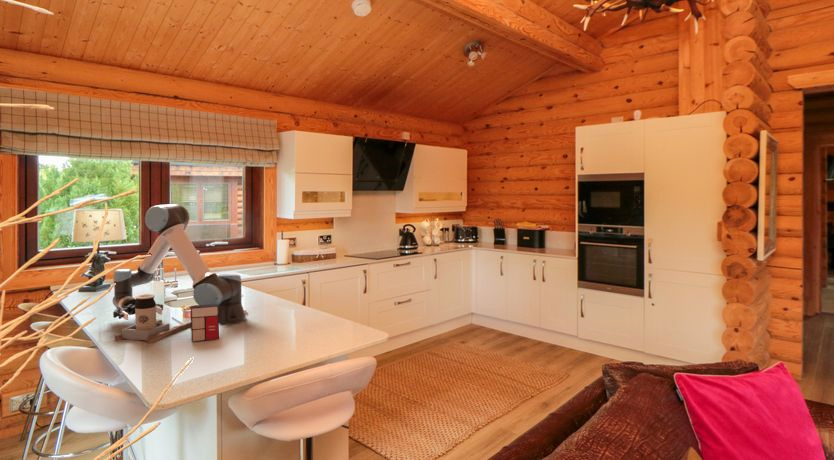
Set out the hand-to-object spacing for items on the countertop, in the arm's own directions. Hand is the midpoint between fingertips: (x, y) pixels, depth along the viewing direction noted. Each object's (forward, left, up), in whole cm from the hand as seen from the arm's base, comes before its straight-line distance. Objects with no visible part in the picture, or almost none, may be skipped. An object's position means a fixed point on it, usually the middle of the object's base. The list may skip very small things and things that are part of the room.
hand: (144, 314), depth 217 cm
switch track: (-1, -5, -10) cm, 11 cm away
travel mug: (-1, 0, -10) cm, 10 cm away
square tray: (-1, 0, -10) cm, 10 cm away
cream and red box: (-29, -2, -10) cm, 30 cm away
